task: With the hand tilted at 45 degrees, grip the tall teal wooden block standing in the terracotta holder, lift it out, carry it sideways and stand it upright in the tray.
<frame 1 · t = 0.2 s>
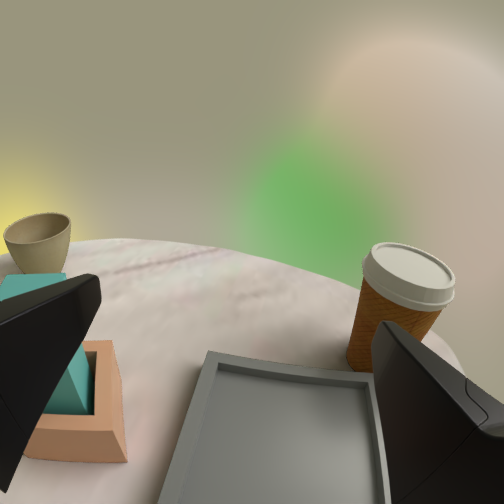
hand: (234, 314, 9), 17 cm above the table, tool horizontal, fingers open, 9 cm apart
disposable coffee cup: (372, 361, 31), on the table
teal block: (51, 369, 17), in the holder
flower pot: (45, 274, 37), on the table
holder: (75, 418, 20), on the table
tray: (286, 462, 20), on the table
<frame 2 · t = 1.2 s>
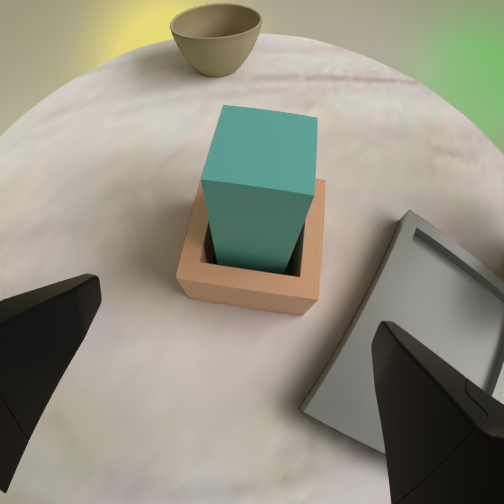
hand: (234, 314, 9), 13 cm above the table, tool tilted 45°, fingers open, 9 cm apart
teal block: (257, 214, 18), in the holder
flower pot: (218, 67, 33), on the table
holder: (253, 253, 24), on the table
tray: (434, 353, 21), on the table
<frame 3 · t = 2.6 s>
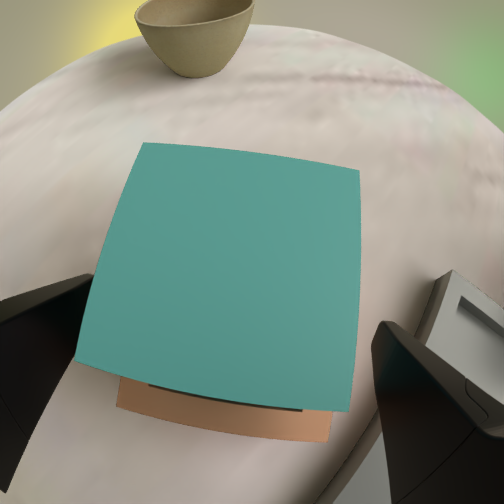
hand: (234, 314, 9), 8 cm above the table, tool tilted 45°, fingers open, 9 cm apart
teal block: (235, 322, 11), in the holder
flower pot: (199, 66, 26), on the table
holder: (237, 340, 17), on the table
tray: (463, 447, 14), on the table
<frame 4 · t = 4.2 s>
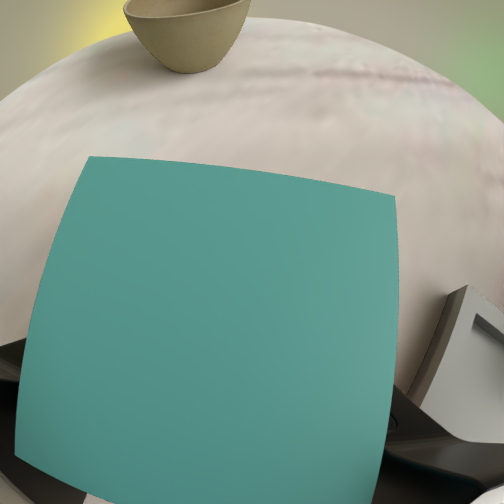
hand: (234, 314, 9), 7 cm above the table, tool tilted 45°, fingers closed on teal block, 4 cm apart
teal block: (227, 360, 9), in the holder, touching gripper
flower pot: (194, 60, 24), on the table
tray: (471, 469, 12), on the table
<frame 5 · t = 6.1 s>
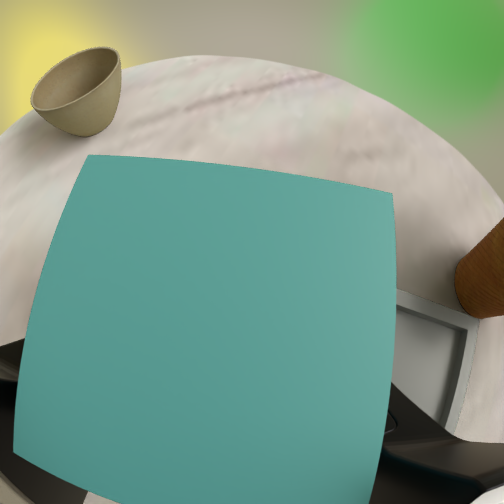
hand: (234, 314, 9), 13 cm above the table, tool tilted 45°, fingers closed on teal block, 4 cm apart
disposable coffee cup: (476, 286, 24), on the table
teal block: (226, 359, 9), point 13 cm above the table, touching gripper
flower pot: (94, 122, 30), on the table
tray: (364, 407, 20), on the table
when the fingers open (9 cm above the table, at t = 8.2 s): teal block drops 1 cm, resting on tray.
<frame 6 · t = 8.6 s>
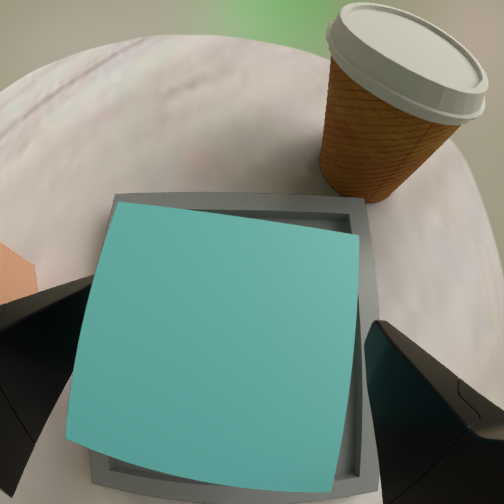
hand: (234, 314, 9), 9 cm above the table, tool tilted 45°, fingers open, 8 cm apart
disposable coffee cup: (358, 169, 23), on the table
teal block: (228, 360, 10), in the tray, point 7 cm above the table
holder: (4, 336, 17), on the table
tray: (234, 348, 17), on the table
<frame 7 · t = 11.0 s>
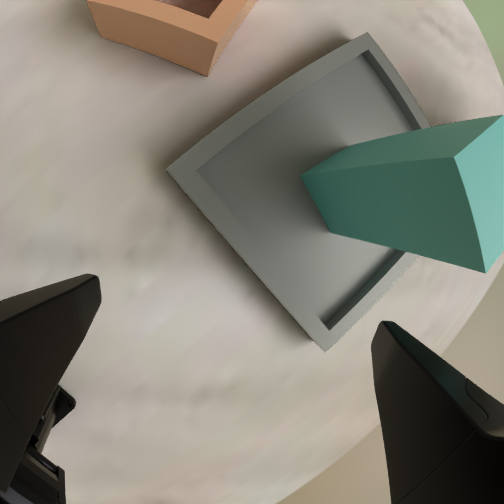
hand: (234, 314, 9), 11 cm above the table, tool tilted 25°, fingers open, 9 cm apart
teal block: (399, 187, 14), in the tray, point 7 cm above the table
holder: (182, 11, 17), on the table
tray: (342, 181, 21), on the table
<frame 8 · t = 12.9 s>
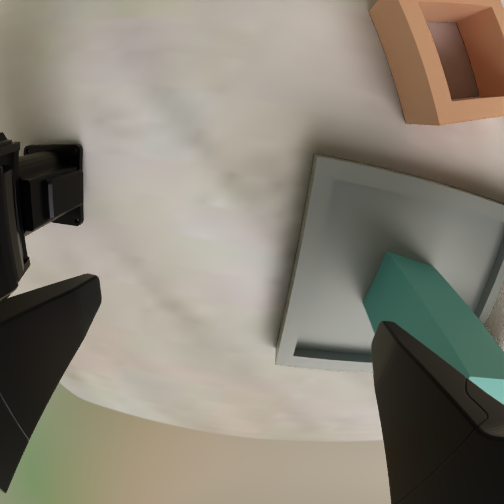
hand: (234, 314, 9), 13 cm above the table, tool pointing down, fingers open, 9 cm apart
teal block: (430, 335, 16), in the tray, point 7 cm above the table
holder: (438, 60, 16), on the table
tray: (405, 280, 22), on the table
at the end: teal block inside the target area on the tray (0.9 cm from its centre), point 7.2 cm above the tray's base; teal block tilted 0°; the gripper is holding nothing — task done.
